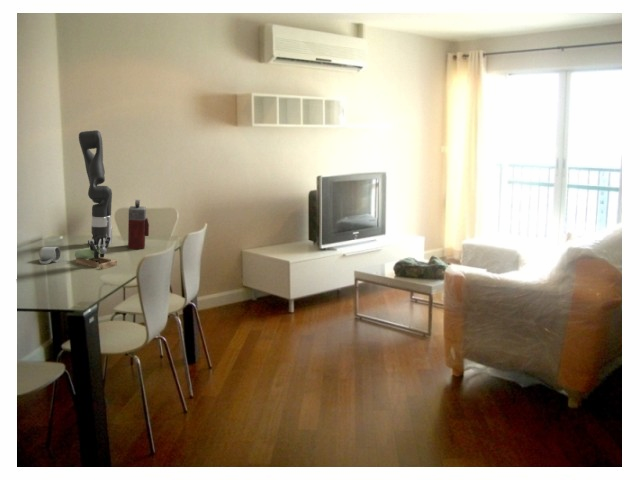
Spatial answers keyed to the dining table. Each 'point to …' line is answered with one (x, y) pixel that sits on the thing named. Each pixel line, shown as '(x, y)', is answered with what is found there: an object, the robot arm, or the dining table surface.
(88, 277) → the dining table surface
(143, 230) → the dark red tall container
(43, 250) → the ceramic mug
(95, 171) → the robot arm
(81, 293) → the dining table surface
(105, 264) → the rest
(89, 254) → the bottle
